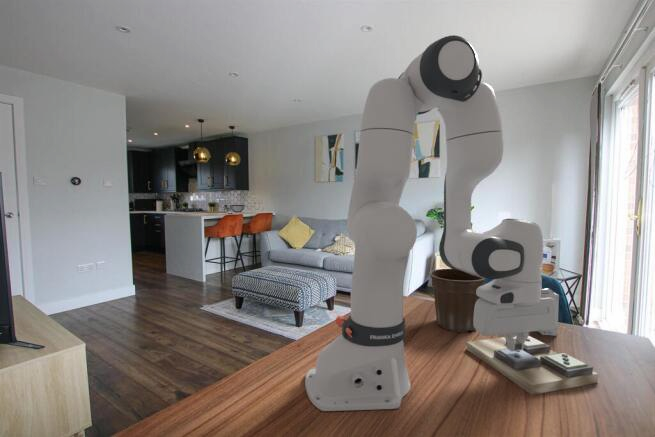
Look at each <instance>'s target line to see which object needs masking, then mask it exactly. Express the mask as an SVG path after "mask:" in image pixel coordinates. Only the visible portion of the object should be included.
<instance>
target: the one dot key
mask: <svg viewBox="0 0 655 437" xmlns="http://www.w3.org/2000/svg"><path fill="white" fill-rule="evenodd" d="M515 336H516V337H517V335H515ZM530 336H531V335H529V336H528V338H527V339H526V341H525V343H524V346H525V347H527V348H532V347H539V346H545V344H546V343H545V342H543V341H541V340H539V341H538V339H537V338H535V339H534V337H533V338H532V336H531V337H530ZM516 337H513V339H514V340H515V339H516ZM536 339H537V340H536Z"/></svg>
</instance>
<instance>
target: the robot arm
mask: <svg viewBox="0 0 655 437" xmlns="http://www.w3.org/2000/svg"><path fill="white" fill-rule="evenodd" d="M482 77H483V73H482V69H481V68H480V62H479V57H478V53H477V52H476V51H475V48H474V46H473V45H472V44H471V43H470V42H469V41H468V40H467V39H466V38H464V37H462V36H461V35H448V36H444V37H441V38H438V39H437V40H435V41H434V42H432V43H430V44H429V45H428V46H427V47H426V48H425V50H423V52H421V53H420V54H419V55H418V56H416V57H415V58H414V59H413V60H412V61H411V62H410V64H408V66H407V67H406V68H405V70H404V71H403V72H402V73H401V74H400V76H398V78H396V77H395V78H394V77H389V78H383V79H381V80H378V81H377V82H375V83H374V84H373V85H372V86H371V87H370V89H369V91H368V94H367V97H366V100H365V104H364V109H363V114H362V118H361V125H360V131H359V132H360V133H359V140H358V141H359V143H358V149H357V150H358V151H357V160H356V168H355V176H354V181H353V185H352V190H351V194H350V199H349V205H348V212H347V220H346V231H347V232H346V233H347V235H348V236H349V239H350V240H351V242H352V243H354V258H353V260H354V261H353V268H352V276H351V279H350V314H349V316H348V318H346V319H345V317H344V316H342V315H338V316H336V318H335V323H336V325H337V326H338V327H339V328H341V334H339V336H337V338H335V339H334V340H333V341H331V342H329V343H328V344H327V345H326V346H325V347H324V348H322V349H320V351H319V353H318V355H317V358H316V364H315V367H314V368H310V369H309V370H308V371H307V373H306V374H305V380H304V387H305V392H306V394H307V395H306V396H307V397H308V399H309V401H310V402H311V403H312V405H314V406H315V407H316V408H317V409H318V410H320V411H322V412H336V411H337V412H338V411H339V412H341V411H366V410H367V411H371V410H394V409H399V408H400V406H401V404H402V400H403V397H404V396H405V397H406V395H407V394H408V393H409V392H410V389H411V386H412V385H411V380H410V377H409V373H408V369H407V364H406V356H405V345H404V344H405V341H406V319H405V317H404V284H405V276H406V272H407V266H408V262H409V258H410V251H411V250H412V249H413V247H414V245H415V244H416V240H417V234H418V230H417V229H418V228H417V224H416V222H415V220H414V218H413V217H412V216H411V214H410V213H409V212H408V211H407V210H405V209H404V208H403V207H402V206H401V205H400V202H401V198H402V194H403V192H404V188H405V186H406V183H407V181H408V180H409V178H410V174H411V166H412V165H411V164H412V159H413V158H412V156H413V151H414V150H413V148H414V140H415V138H414V137H415V132H416V131H415V130H416V121H417V116H418V115H424V114H426V113H429V112H430V111H432V110H434V109H436V108H437V109H436V110H437V112H438V113H439V114H440V116H441V117H442V120H443V123H444V126H445V127H444V128H445V131H444V132H445V143H446V144H445V146H446V169H445V174H444V175H445V176H444V181H443V182H444V183H443V228H442V229H443V230H442V234H441V237H440V241H439V247H438V248H439V249H438V252H439V257H440V260H441V261H442V263H444V265H446V266H447V267H448V268H449V269H455V270H459V271H464V272H466V273H469V274H471V275H475V276H477V277H480V278H483V279H485V280H491V281H489V282H488V283H484V285H482V286H480V287H478V288H477V290H476V295H477V296H478V297H480V298H479V299H478V300H477V301H476V303H475V307H474V317H473V325H474V328H475V329H476V330H475V331H476V332H477V333H479V334H480V335H483V336H484V337H492V336H501V335H503V337H505V339H506V341H507V349H508V350H510V351H519V350H523V348H524V343H525V341H526V339H527V338H528V336H530V335H529V334H530V332H538V331H539V330H549V329H555V328H556V326H557V324H558V325H559V311H558V312H557V304H556V301H555V294H554V293H555V292H554V291H553V290H552V289H551V288H548V287H546V288H542V286H543V285H542V283H543V282H542V280H543V279H542V275H541V267H542V264H543V260H544V239H543V232H542V228H541V227H540V225H539V224H537V223H536V222H534V221H530V220H526V219H525V220H524V219H518V218H505V219H504V218H503V219H502V220H501V222H500V223H499V224H498V225H496V226H495V227H493V228H491V229H489V230H487V231H484V232H481V233H480V232H475V231H474V230H473V228H472V197H473V193H474V191H475V189H476V187H477V186H478V185H479V184H480V183H481V182H482V181H483V180H485V179H486V178H487V177H489V176H490V175H492V174H493V173H494V172H495V170H496V169H497V168H498V167H499V166H500V164H501V162H502V160H503V155H504V135H503V125H502V117H501V116H502V115H501V113H500V112H501V111H500V107H499V103H498V99H497V96H496V93H495V91H494V88H493V87H492V86H491V85H489V84H488V83H486V82H482ZM515 336H517V337H516V339H515V340H514V339H513V337H515Z"/></svg>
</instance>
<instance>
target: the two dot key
mask: <svg viewBox="0 0 655 437" xmlns="http://www.w3.org/2000/svg"><path fill="white" fill-rule="evenodd" d="M500 353H502V354H503V355H505V356H507V357H508V358H510V359H511V360H513V361H515V362H516V363H518V362H525V361H531V360H535V357H534V356H532V355H530V354H528V353H527V352H525V351H523V350H519V351H510V350H508V349H502V350H500Z"/></svg>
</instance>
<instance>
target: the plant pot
mask: <svg viewBox="0 0 655 437" xmlns="http://www.w3.org/2000/svg"><path fill="white" fill-rule="evenodd" d="M429 276H430V277H431V278H430V279H431V286H432V287H433V297H434V308H435V316H436V317H435V319H436V324H437V325H438V326H440V327H441V328H442V329H445V330H448V331H452V332H457V333H458V332H459V333H460V332H462V333H467V332H468V331H470V332H474V331H476V329H475V328H474V325H473V317H474V307H475V303H476V301H477V300H478V299H479V298H480V297H478V296H477V295H476V290H477V288H478V287H480V286H482V285H485V281H486V279H483V278H480V277H477V276H475V275H471V274H469V273H466V272H464V271H459V270H455V269H452V268H438V269H433V270H431V271H429Z"/></svg>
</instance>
